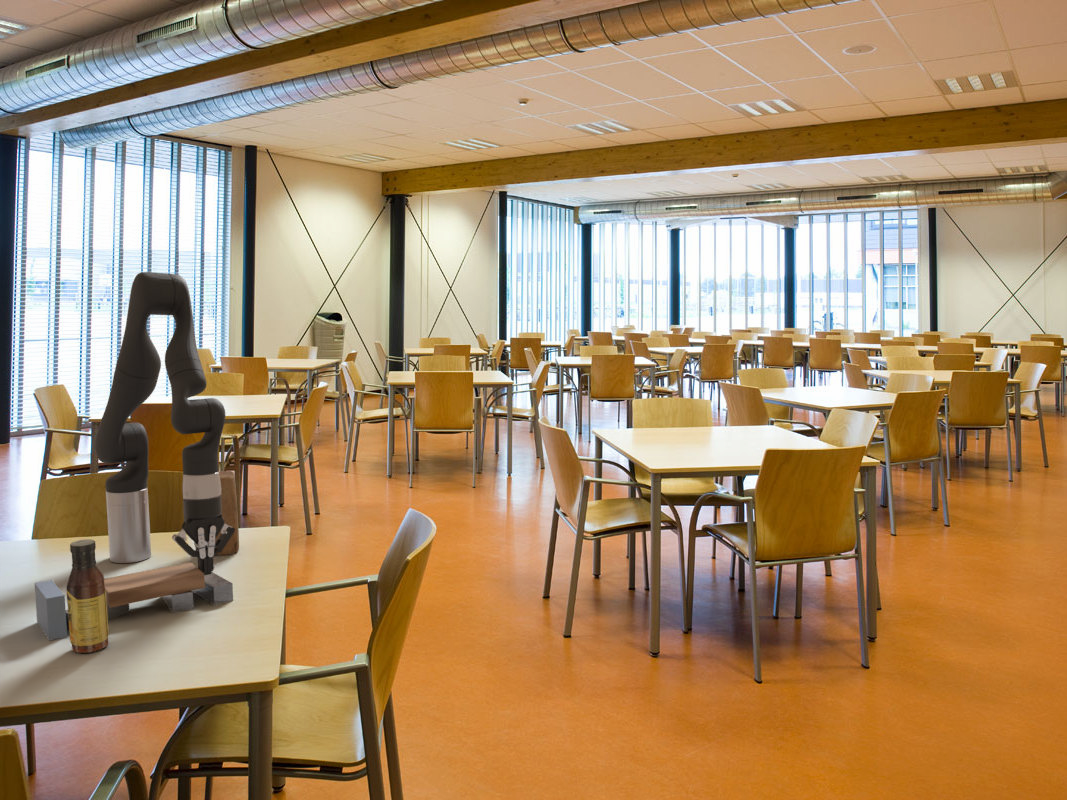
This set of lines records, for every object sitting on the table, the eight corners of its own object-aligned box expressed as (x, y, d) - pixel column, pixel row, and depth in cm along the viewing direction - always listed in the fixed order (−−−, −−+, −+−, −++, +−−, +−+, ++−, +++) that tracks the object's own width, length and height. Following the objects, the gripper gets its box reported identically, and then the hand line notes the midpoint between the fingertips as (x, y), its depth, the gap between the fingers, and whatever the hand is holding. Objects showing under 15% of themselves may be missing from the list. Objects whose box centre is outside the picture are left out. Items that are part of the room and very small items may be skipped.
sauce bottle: (79, 642, 162) (73, 536, 160) (115, 641, 162) (108, 535, 160) (64, 656, 155) (56, 546, 153) (100, 655, 156) (94, 545, 154)
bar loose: (115, 611, 180) (114, 592, 179) (129, 613, 178) (128, 595, 178) (62, 630, 169) (61, 611, 168) (76, 634, 167) (75, 614, 167)
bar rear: (192, 592, 191) (191, 574, 190) (210, 588, 193) (209, 570, 193) (214, 606, 182) (213, 587, 181) (233, 601, 184) (232, 583, 184)
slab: (100, 594, 179) (98, 579, 178) (191, 575, 189) (190, 562, 189) (109, 607, 171) (108, 592, 170) (205, 587, 181) (204, 573, 181)
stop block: (37, 622, 172) (34, 582, 171) (54, 618, 174) (51, 579, 173) (49, 640, 163) (46, 598, 162) (67, 636, 165) (64, 595, 164)
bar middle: (161, 598, 187) (160, 579, 187) (181, 594, 189) (180, 576, 189) (172, 614, 177) (171, 595, 177) (193, 611, 179) (192, 591, 179)
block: (239, 555, 218) (236, 475, 216) (207, 558, 215) (203, 477, 213) (239, 544, 228) (235, 468, 226) (208, 546, 225) (204, 470, 223)
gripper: (227, 486, 191) (230, 564, 193) (163, 495, 183) (168, 576, 185) (239, 492, 185) (243, 572, 187) (175, 501, 177) (179, 585, 179)
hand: (205, 574), depth 186 cm, fingers closed
